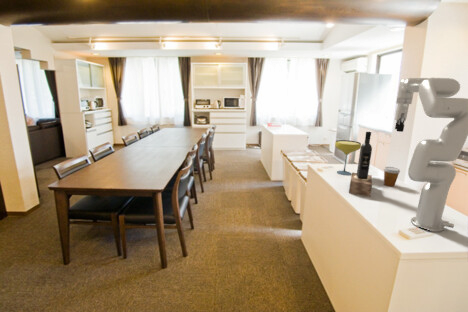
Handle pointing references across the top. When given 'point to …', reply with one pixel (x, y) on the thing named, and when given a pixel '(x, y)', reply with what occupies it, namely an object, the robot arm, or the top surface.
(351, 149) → the cocktail glass
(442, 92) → the robot arm
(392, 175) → the disposable coffee cup
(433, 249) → the top surface
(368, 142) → the wine bottle
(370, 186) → the brown rectangular block
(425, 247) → the top surface
